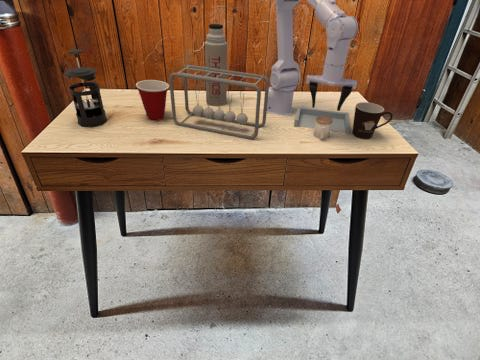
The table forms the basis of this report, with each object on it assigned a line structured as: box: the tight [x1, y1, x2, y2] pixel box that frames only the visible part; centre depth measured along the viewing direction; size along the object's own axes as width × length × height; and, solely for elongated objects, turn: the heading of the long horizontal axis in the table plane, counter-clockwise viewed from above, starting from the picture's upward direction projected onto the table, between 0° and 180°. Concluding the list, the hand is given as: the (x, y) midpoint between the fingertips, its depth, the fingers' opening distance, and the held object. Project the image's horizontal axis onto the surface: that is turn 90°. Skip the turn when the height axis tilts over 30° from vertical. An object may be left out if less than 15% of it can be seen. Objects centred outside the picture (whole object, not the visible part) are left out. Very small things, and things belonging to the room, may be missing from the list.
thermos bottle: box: [204, 23, 228, 107], centre depth 118 cm, size 8×8×28 cm
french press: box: [64, 49, 108, 128], centre depth 102 cm, size 12×9×23 cm
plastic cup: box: [135, 79, 170, 122], centre depth 109 cm, size 11×11×12 cm
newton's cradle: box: [168, 64, 270, 140], centre depth 104 cm, size 30×10×18 cm, turn 71°
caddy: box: [293, 106, 351, 135], centre depth 112 cm, size 18×13×3 cm
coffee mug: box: [351, 101, 393, 140], centre depth 103 cm, size 12×9×10 cm
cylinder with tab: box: [313, 116, 333, 140], centre depth 103 cm, size 5×7×6 cm
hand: (325, 108), depth 99 cm, fingers open, 7 cm apart
